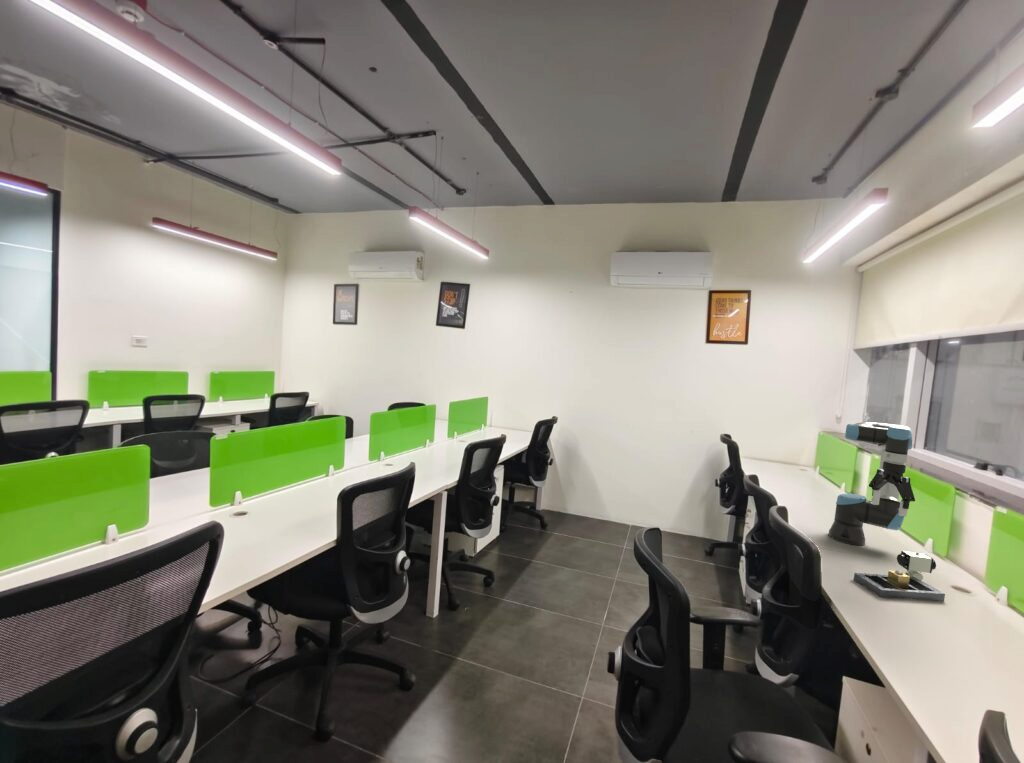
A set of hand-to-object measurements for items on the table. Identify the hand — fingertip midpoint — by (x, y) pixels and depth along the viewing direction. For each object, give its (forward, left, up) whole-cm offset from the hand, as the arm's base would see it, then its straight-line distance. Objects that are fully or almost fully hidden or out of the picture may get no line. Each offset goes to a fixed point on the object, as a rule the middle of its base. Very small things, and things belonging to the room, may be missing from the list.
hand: (888, 509), depth 191 cm
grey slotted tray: (+19, -10, -27) cm, 34 cm away
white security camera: (+8, +7, -27) cm, 29 cm away
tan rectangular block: (+19, -10, -27) cm, 34 cm away
